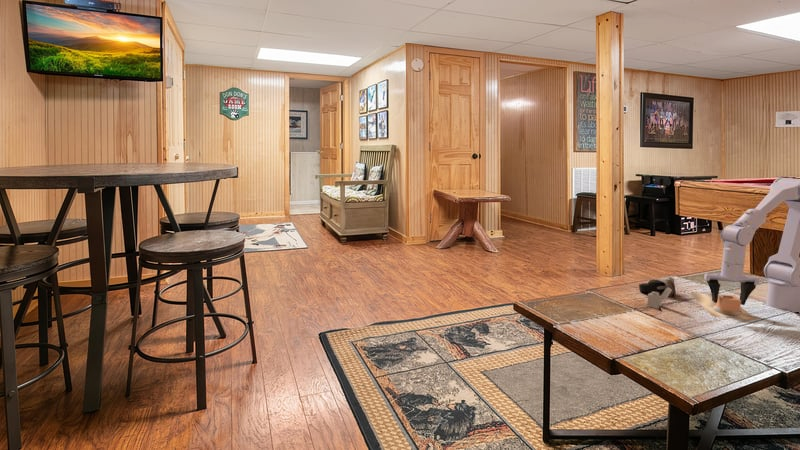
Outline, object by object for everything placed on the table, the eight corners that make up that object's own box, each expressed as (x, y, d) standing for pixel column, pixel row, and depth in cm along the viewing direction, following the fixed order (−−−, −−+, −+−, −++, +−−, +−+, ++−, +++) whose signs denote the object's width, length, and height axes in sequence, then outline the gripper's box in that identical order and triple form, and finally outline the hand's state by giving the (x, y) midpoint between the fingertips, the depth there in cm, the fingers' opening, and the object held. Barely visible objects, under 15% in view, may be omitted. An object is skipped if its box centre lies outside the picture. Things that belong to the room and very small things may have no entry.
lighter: (646, 305, 155) (648, 283, 154) (649, 304, 156) (651, 282, 155) (667, 312, 149) (669, 289, 148) (670, 311, 150) (672, 288, 149)
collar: (733, 307, 148) (734, 295, 148) (739, 312, 144) (741, 300, 143) (715, 305, 150) (717, 294, 149) (721, 310, 145) (722, 299, 144)
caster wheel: (638, 296, 174) (667, 293, 171) (646, 299, 162) (678, 297, 160) (635, 278, 174) (664, 275, 172) (643, 280, 163) (675, 277, 160)
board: (726, 298, 162) (728, 283, 161) (756, 322, 139) (759, 306, 139) (688, 295, 166) (690, 281, 165) (712, 318, 143) (714, 302, 142)
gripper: (754, 261, 146) (749, 300, 148) (702, 258, 150) (698, 297, 152) (764, 266, 139) (758, 308, 141) (710, 263, 143) (705, 303, 145)
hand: (728, 302), depth 146 cm, fingers open, 7 cm apart
